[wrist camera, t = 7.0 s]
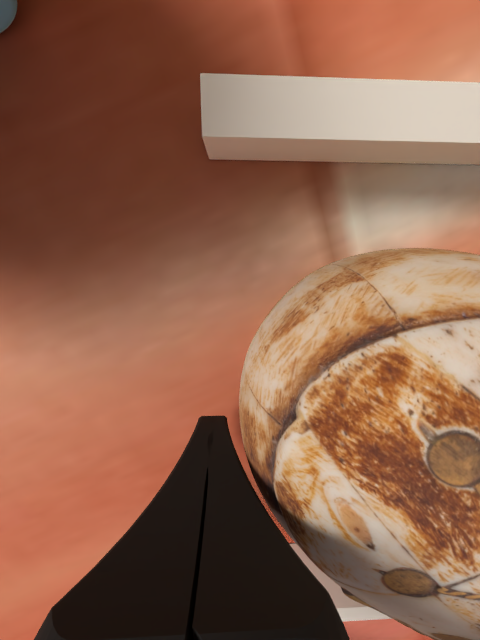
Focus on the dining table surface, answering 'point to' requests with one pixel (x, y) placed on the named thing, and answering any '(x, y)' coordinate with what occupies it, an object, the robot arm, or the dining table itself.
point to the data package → (7, 13)
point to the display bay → (340, 147)
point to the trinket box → (377, 430)
